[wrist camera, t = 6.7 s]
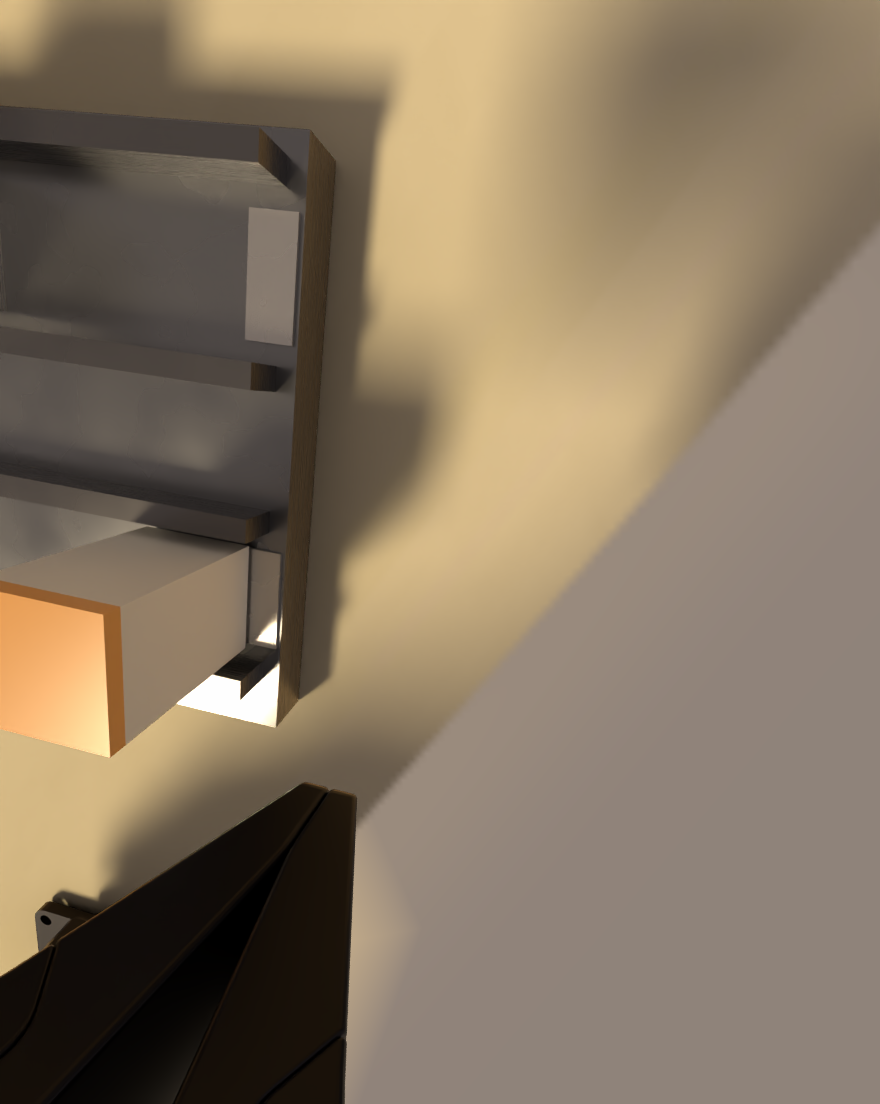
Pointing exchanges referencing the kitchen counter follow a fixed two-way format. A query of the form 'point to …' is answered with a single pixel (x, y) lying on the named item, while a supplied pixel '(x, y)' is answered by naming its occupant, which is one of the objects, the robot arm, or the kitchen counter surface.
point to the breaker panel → (167, 354)
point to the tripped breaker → (116, 634)
